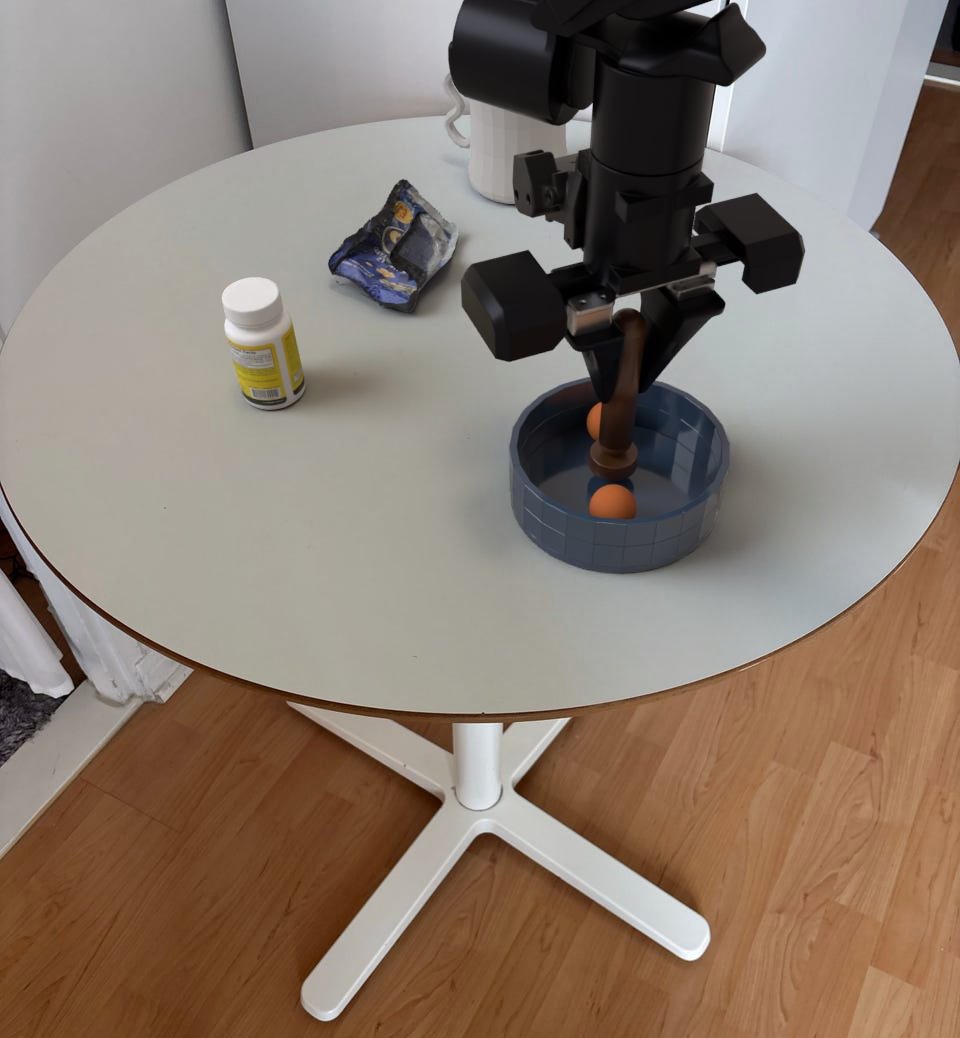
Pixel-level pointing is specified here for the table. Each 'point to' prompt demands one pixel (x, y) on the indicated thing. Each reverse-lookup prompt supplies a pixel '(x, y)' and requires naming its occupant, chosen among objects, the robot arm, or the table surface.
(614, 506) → the ball
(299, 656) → the table surface
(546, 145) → the mug
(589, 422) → the ball
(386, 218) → the snack package
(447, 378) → the table surface
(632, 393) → the wooden pestle
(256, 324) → the supplement bottle
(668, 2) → the robot arm
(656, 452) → the bowl
